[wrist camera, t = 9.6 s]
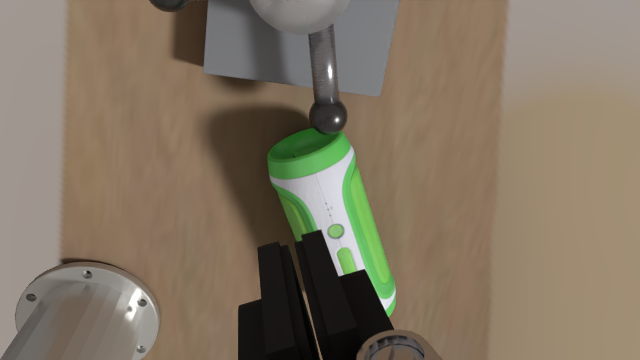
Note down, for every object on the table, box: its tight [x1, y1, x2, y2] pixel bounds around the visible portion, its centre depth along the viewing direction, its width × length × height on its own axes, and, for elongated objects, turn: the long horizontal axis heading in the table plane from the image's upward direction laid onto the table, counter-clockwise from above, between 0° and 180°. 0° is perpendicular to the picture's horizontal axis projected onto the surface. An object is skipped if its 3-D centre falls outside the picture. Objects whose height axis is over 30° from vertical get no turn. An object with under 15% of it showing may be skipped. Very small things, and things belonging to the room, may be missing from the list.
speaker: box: [267, 128, 396, 317], centre depth 41 cm, size 18×7×8 cm, turn 18°
